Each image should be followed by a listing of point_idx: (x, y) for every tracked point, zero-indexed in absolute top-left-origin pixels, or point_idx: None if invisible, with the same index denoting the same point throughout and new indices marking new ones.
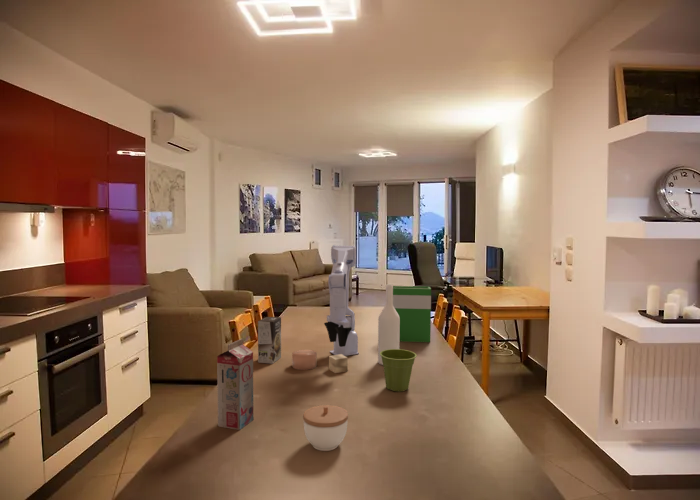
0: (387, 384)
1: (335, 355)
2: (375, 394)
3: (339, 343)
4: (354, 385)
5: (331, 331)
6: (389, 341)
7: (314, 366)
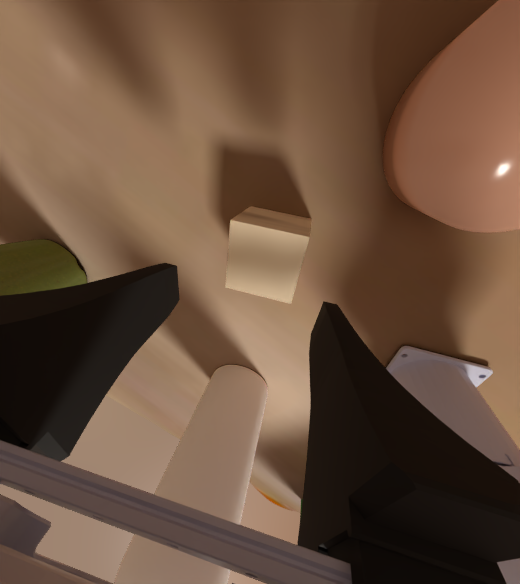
0: (31, 241)
1: (290, 269)
2: (15, 181)
3: (146, 267)
4: (98, 176)
5: (331, 382)
6: (180, 441)
7: (385, 167)
